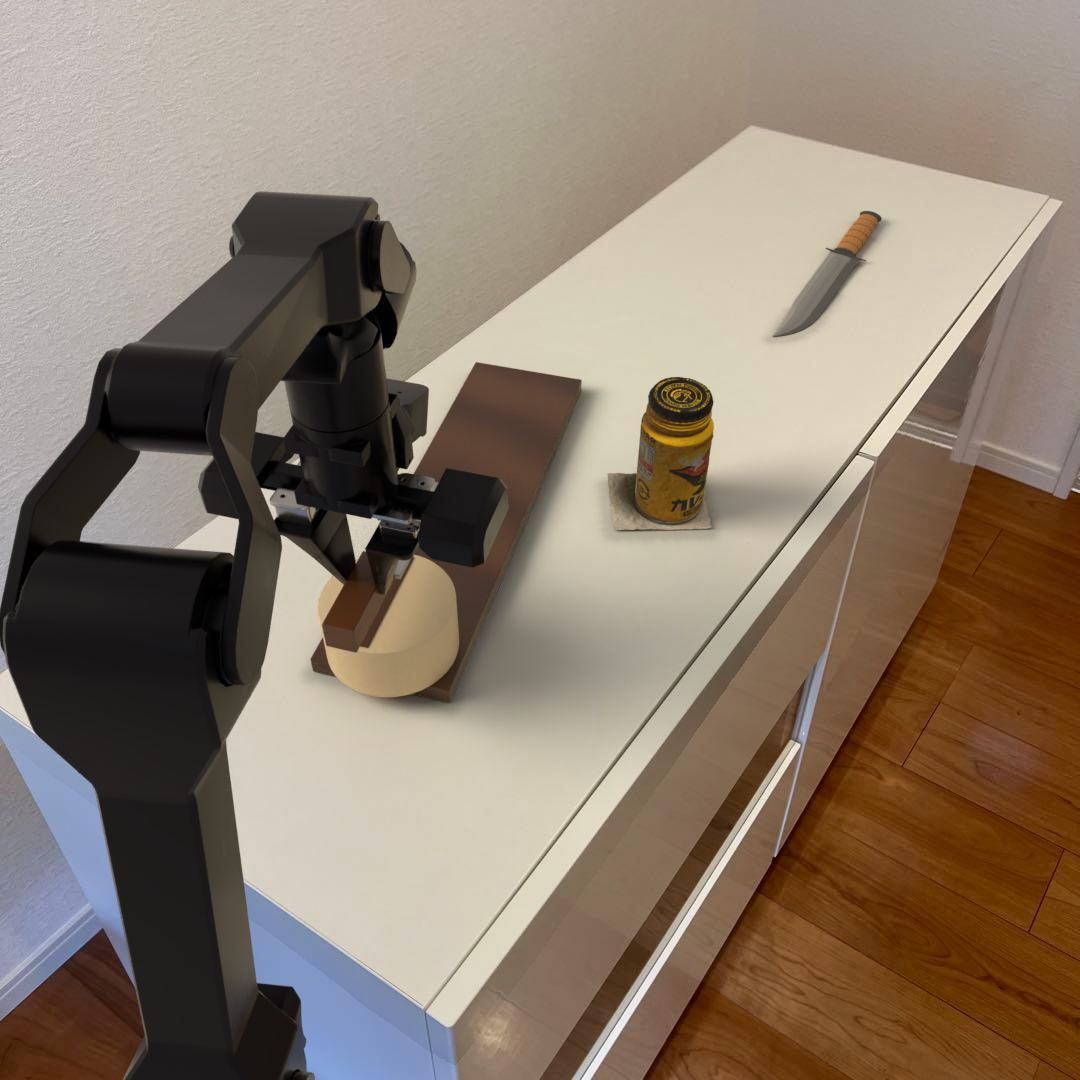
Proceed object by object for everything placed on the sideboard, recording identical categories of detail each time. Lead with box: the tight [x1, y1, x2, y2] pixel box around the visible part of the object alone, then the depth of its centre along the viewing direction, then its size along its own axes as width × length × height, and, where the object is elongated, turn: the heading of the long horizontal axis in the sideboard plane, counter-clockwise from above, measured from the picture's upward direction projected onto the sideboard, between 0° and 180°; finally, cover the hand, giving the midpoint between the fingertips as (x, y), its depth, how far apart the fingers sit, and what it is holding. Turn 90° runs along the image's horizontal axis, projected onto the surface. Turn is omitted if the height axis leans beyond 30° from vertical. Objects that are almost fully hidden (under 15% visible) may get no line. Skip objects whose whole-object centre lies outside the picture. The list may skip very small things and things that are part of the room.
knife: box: [772, 210, 882, 337], centre depth 123 cm, size 30×1×5 cm
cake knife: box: [322, 482, 439, 653], centre depth 76 cm, size 17×3×2 cm, turn 164°
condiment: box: [606, 376, 715, 531], centre depth 91 cm, size 7×8×12 cm
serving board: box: [310, 361, 583, 704], centre depth 94 cm, size 40×11×2 cm, turn 164°
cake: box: [317, 555, 459, 698], centre depth 80 cm, size 10×10×5 cm
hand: (368, 586), depth 73 cm, fingers closed on cake knife, 2 cm apart
